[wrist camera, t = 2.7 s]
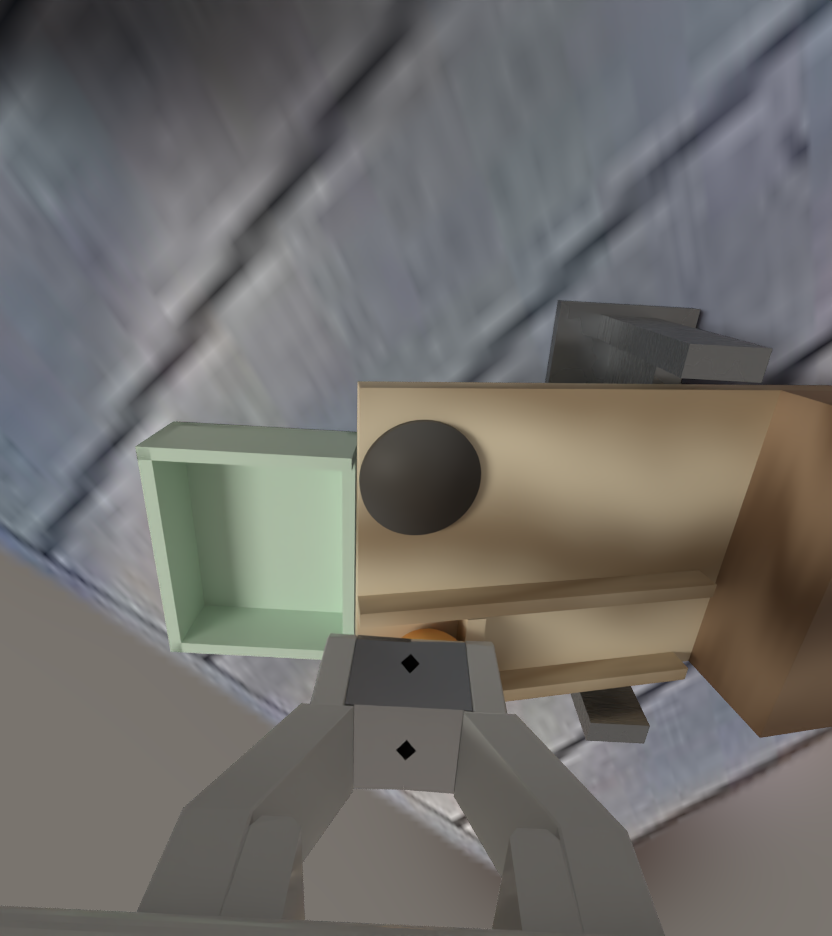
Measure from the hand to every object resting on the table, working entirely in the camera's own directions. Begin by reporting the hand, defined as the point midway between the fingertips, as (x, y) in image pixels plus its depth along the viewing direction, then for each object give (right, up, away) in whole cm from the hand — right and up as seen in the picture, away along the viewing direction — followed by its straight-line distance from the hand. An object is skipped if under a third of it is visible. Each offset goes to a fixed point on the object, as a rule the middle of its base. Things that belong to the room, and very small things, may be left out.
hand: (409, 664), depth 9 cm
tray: (-7, 0, +17) cm, 19 cm away
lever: (+7, +1, +11) cm, 13 cm away
